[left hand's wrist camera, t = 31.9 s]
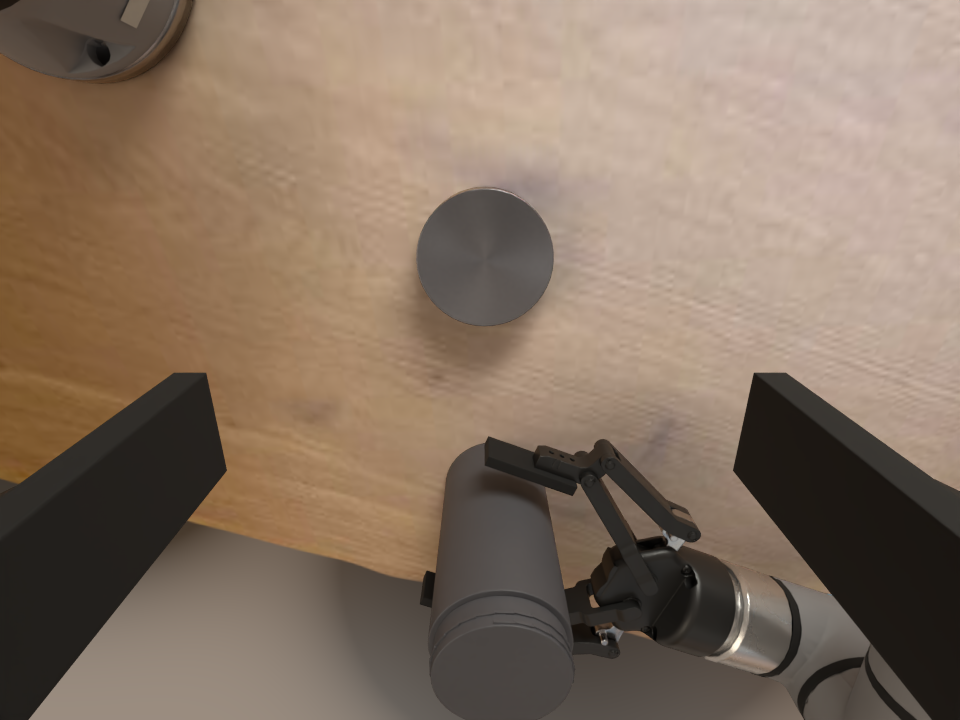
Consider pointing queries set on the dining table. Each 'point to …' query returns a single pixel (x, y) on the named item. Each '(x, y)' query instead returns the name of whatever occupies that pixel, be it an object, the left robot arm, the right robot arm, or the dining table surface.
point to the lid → (484, 256)
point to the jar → (498, 599)
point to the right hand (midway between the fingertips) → (452, 522)
